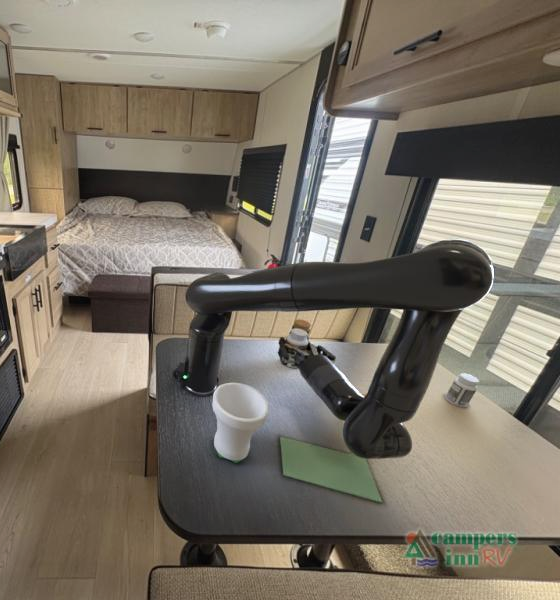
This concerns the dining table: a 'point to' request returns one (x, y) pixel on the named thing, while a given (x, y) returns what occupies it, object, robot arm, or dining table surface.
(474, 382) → the pill bottle
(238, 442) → the cup
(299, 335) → the supplement bottle
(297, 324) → the bottle
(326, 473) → the cloth
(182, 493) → the dining table surface
